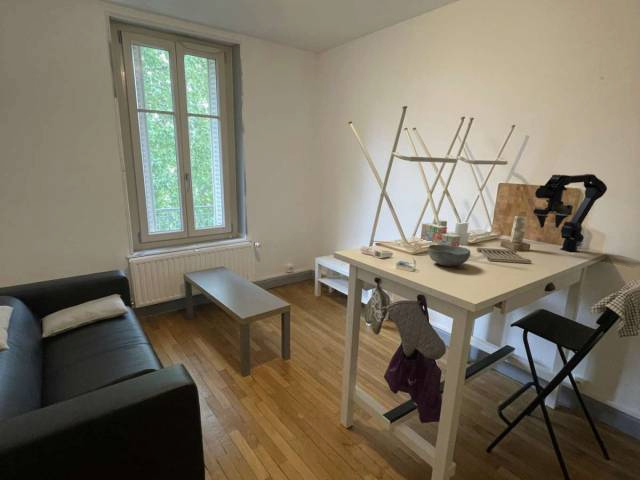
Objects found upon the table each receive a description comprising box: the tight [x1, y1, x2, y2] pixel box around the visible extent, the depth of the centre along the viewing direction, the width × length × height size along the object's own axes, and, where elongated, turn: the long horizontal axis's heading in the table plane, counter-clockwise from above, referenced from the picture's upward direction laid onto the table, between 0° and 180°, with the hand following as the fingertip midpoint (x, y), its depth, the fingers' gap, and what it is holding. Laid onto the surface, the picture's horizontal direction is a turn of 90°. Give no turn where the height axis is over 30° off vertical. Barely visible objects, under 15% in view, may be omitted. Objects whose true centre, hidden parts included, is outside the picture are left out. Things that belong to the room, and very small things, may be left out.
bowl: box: [427, 245, 471, 267], centre depth 152 cm, size 18×18×8 cm
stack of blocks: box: [420, 222, 460, 247], centre depth 180 cm, size 21×6×12 cm, turn 27°
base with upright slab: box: [451, 221, 470, 246], centre depth 195 cm, size 9×9×12 cm
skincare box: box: [433, 219, 448, 227], centre depth 199 cm, size 6×4×12 cm
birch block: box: [509, 215, 528, 244], centre depth 186 cm, size 5×5×14 cm
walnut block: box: [500, 239, 531, 252], centre depth 188 cm, size 10×10×4 cm
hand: (549, 227), depth 182 cm, fingers open, 9 cm apart
